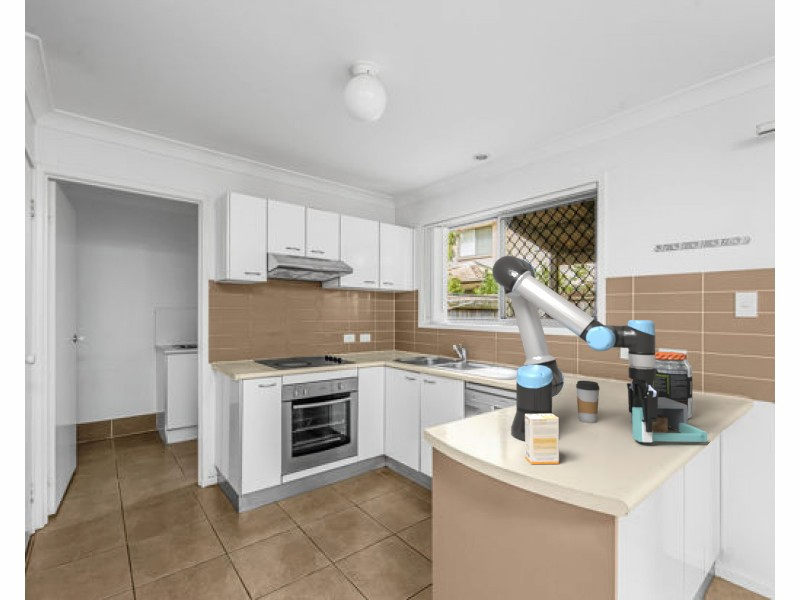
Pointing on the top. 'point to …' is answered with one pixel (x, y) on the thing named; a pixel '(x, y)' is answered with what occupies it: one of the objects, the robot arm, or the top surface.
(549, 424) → the supplement box
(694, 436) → the teal cube-topped l-bracket
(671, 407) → the block
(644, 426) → the robot arm
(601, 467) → the top surface
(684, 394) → the supplement tub
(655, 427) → the block
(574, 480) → the top surface
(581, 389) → the coffee cup
